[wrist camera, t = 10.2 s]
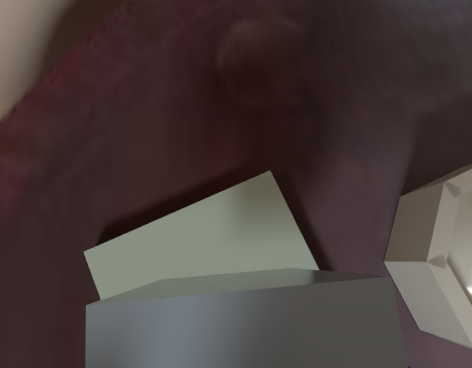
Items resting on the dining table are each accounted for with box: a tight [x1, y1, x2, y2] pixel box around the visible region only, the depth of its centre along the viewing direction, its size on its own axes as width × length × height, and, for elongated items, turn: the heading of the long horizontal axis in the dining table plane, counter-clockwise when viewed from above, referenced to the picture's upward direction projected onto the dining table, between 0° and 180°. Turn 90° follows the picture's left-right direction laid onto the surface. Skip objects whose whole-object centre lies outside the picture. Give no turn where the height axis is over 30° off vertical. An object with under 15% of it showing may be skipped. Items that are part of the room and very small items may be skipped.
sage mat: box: [84, 171, 319, 300], centre depth 20 cm, size 13×12×2 cm
